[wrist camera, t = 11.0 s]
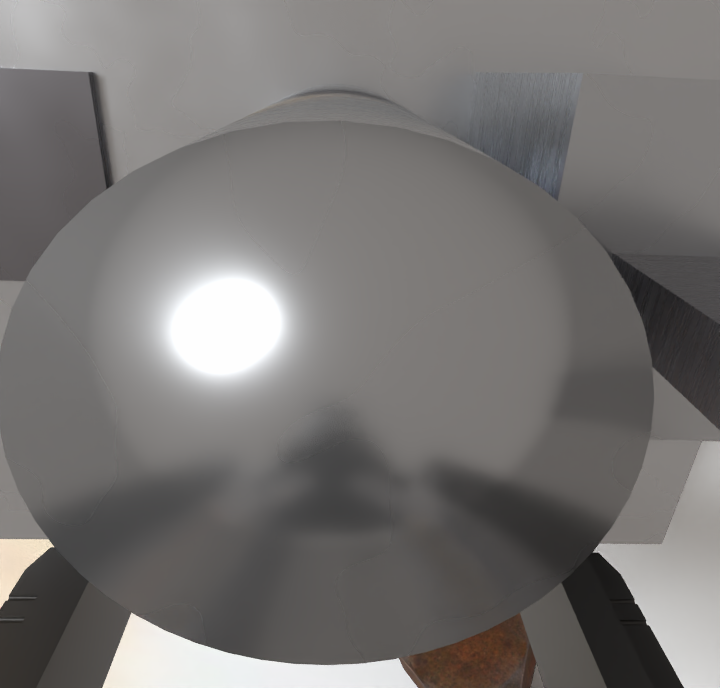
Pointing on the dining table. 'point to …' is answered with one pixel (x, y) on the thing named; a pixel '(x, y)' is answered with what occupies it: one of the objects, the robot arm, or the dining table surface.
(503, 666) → the bolt
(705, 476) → the dining table surface
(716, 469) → the dining table surface
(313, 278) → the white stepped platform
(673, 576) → the dining table surface
